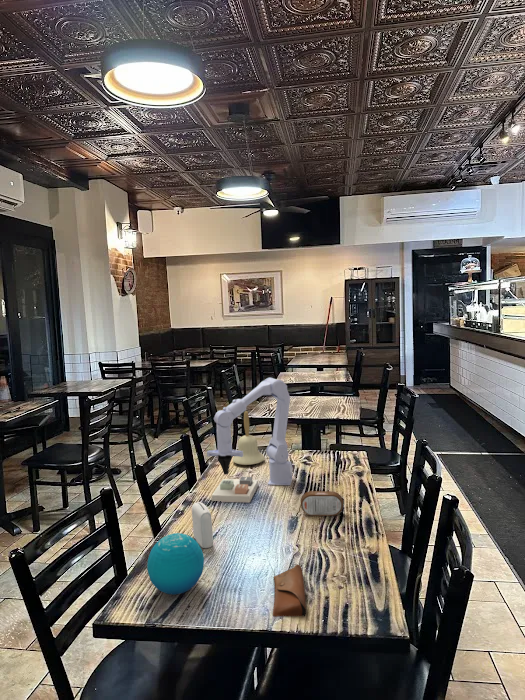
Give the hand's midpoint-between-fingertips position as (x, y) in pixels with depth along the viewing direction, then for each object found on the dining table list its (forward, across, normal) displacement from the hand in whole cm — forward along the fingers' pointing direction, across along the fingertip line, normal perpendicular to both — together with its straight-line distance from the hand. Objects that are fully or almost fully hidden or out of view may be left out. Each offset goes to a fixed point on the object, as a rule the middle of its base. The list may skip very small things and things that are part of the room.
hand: (226, 473), depth 191 cm
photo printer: (+8, +2, -39) cm, 40 cm away
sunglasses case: (+9, +33, -64) cm, 73 cm away
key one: (+7, +7, +4) cm, 10 cm away
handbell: (+8, +1, +37) cm, 38 cm away
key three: (+7, 0, 0) cm, 7 cm away
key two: (+7, +7, -4) cm, 10 cm away
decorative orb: (+8, +3, -65) cm, 66 cm away
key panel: (+8, +4, 0) cm, 9 cm away
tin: (+8, +39, -17) cm, 43 cm away
